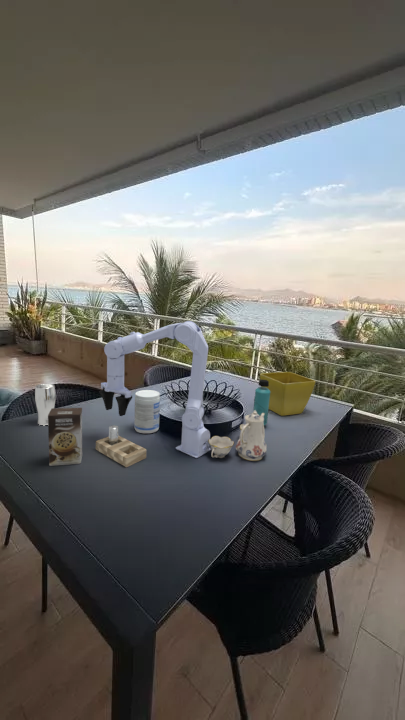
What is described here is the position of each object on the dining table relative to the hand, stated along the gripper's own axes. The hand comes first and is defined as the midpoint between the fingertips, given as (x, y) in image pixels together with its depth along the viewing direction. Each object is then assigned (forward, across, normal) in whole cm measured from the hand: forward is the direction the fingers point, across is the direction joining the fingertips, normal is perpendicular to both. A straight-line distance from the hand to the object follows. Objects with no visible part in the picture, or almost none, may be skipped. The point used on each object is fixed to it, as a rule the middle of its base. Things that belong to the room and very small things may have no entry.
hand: (115, 412), depth 113 cm
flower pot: (+11, +30, +76) cm, 82 cm away
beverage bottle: (+11, +31, +50) cm, 60 cm away
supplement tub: (+11, +1, +14) cm, 18 cm away
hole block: (+10, +10, -5) cm, 15 cm away
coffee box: (+11, +1, -19) cm, 22 cm away
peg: (+10, +6, -5) cm, 13 cm away
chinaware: (+11, +38, +26) cm, 47 cm away
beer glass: (+11, -30, -10) cm, 33 cm away
